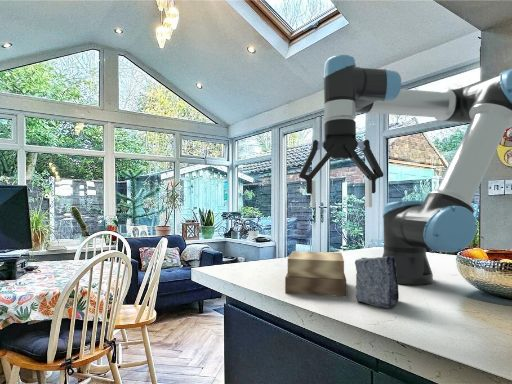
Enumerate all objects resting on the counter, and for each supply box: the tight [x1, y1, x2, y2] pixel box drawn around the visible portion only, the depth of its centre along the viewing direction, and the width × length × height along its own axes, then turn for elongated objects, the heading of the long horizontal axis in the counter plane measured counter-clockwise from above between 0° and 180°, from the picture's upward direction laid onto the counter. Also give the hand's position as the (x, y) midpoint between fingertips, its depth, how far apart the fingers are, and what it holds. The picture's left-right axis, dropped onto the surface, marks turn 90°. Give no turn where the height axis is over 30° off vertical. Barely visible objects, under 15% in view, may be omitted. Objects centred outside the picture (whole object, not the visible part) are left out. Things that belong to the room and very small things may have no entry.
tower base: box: [284, 272, 347, 297], centre depth 94 cm, size 15×15×4 cm
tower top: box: [287, 250, 345, 279], centre depth 94 cm, size 14×14×4 cm
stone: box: [354, 256, 400, 309], centre depth 81 cm, size 12×10×10 cm
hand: (340, 207), depth 85 cm, fingers open, 13 cm apart
